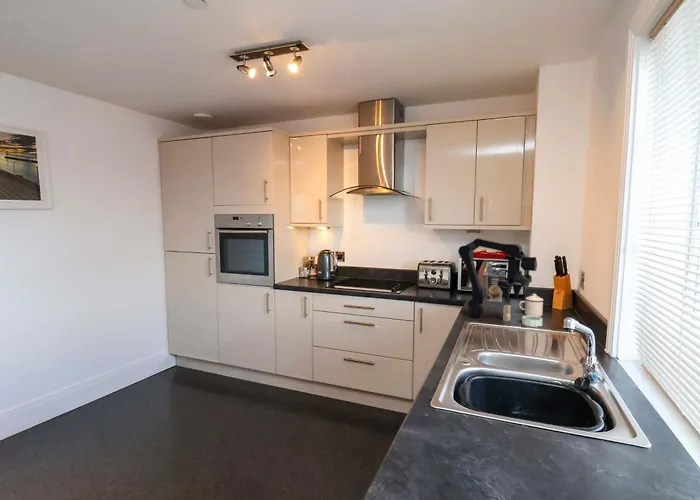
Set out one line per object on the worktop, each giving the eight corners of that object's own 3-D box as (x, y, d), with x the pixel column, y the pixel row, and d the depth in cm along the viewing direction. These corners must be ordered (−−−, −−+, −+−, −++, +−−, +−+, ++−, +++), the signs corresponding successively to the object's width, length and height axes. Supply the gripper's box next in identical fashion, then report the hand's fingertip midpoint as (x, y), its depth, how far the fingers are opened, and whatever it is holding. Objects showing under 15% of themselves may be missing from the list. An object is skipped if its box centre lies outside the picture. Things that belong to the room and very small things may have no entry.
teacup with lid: (541, 313, 209) (542, 292, 207) (544, 317, 200) (545, 296, 199) (517, 311, 212) (518, 291, 211) (519, 315, 204) (520, 294, 203)
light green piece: (518, 323, 189) (519, 317, 189) (527, 320, 195) (527, 314, 194) (536, 327, 182) (537, 321, 182) (545, 324, 188) (545, 318, 187)
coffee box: (487, 301, 237) (487, 276, 236) (485, 299, 243) (485, 274, 242) (502, 302, 236) (503, 276, 234) (499, 299, 242) (500, 275, 240)
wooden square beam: (503, 320, 195) (503, 305, 194) (505, 319, 197) (506, 304, 196) (507, 321, 193) (508, 306, 192) (510, 320, 195) (510, 305, 194)
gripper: (519, 272, 177) (516, 305, 179) (538, 269, 188) (536, 299, 190) (497, 269, 186) (495, 300, 187) (517, 266, 197) (515, 295, 199)
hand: (511, 299), depth 191 cm, fingers open, 9 cm apart
